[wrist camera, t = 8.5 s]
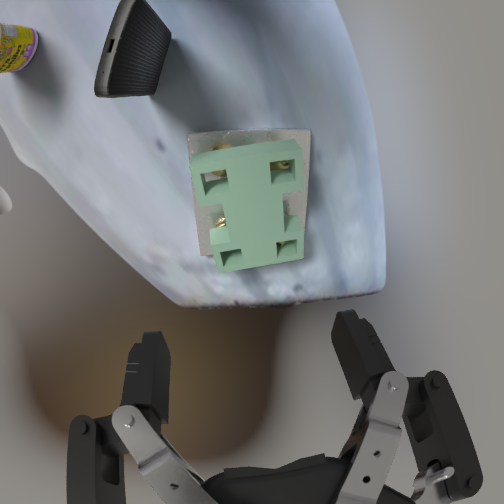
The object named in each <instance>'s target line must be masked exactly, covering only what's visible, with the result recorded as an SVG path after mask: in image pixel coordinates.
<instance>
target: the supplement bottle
mask: <svg viewBox="0 0 504 504" xmlns="http://www.w3.org/2000/svg"><path fill="white" fill-rule="evenodd" d="M37 45H38V34H37V32H36V31H35V30H34V29H33V28H29V27H24V26H18V25H11V24H3V23H0V73H4V72H15V71H19V70H21V69H22V68H24V67H25V66H26V65H27V64H28V63H29V61H30V60H31V59H32V57H33V55H34V53H35V51H36V48H37Z"/></svg>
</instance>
